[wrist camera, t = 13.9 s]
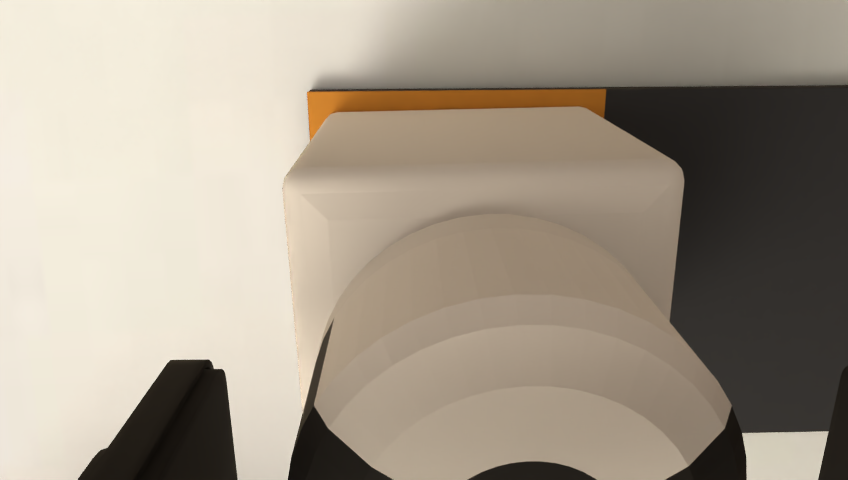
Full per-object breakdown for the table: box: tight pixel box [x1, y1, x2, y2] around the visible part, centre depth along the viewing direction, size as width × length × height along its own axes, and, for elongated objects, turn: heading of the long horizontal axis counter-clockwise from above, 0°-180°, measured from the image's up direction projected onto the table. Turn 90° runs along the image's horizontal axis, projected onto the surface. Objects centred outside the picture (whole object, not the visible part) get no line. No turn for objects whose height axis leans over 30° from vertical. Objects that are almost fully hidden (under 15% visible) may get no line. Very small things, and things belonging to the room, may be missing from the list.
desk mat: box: [307, 85, 848, 433], centre depth 21 cm, size 21×11×1 cm, turn 90°
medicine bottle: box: [282, 106, 746, 480], centre depth 14 cm, size 7×7×12 cm
